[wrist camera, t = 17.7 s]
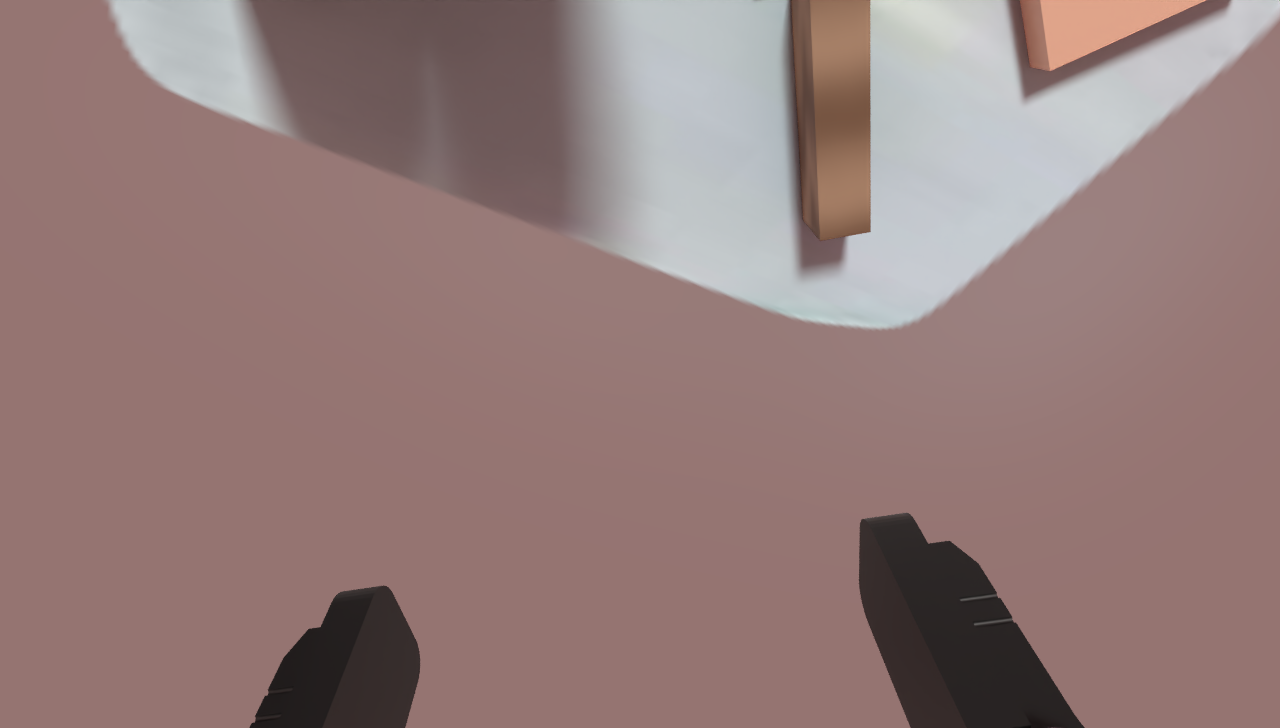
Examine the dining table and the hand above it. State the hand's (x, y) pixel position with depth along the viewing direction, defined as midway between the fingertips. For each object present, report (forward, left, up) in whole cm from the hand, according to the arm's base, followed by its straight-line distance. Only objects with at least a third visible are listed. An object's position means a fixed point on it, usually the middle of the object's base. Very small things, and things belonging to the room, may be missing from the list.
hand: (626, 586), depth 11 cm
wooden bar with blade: (-5, +11, -28) cm, 31 cm away
